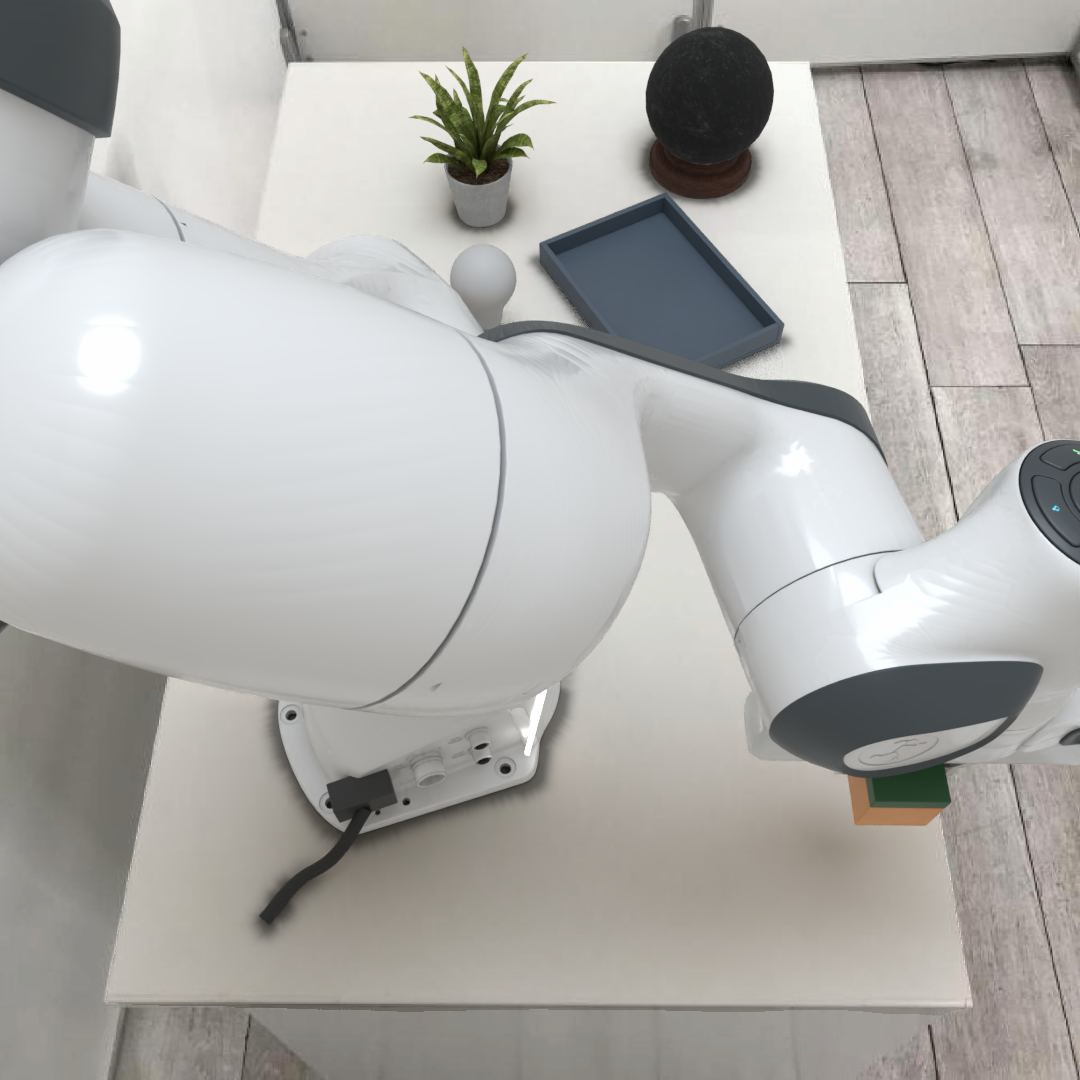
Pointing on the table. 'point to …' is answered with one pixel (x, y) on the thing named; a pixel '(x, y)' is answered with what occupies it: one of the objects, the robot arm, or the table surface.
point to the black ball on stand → (707, 111)
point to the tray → (660, 285)
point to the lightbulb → (484, 282)
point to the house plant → (478, 144)
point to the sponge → (900, 797)
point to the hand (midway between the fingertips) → (890, 763)
